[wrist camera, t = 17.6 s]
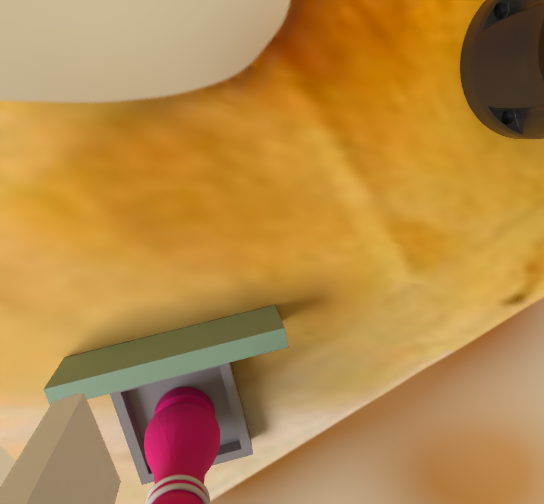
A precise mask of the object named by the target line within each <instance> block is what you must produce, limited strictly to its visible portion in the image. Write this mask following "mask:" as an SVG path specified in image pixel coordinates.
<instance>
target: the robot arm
mask: <svg viewBox="0 0 544 504" xmlns="http://www.w3.org/2000/svg"><path fill="white" fill-rule="evenodd" d="M460 73H461V82H462V87H463V91H464V94H465V97H466V99H467V102H468V104H469V106H470V108H471V109H472V111H473V112H474V114H475V115H476V117H477V118H478V119H479V120H480V121H481V122H482V123H483V124H484V125H485V126H487V127H488V128H489V129H491V130H492V131H494V132H496V133H498V134H500V135H503V136H506V137H510V138H516V139H542V138H544V0H486V1H485V2H484V3H483V4H482V6H481V7H480V8H479V10H478V11H477V13H476V14H475V16H474V18H473V19H472V21H471V23H470V25H469V28H468V30H467V33H466V36H465V39H464V42H463V47H462V52H461V61H460ZM120 482H121V481H120V478H119V476H118V474H117V471H116V469H115V466H114V464H113V462H112V459H111V457H110V454H109V452H108V450H107V447H106V445H105V442H104V440H103V438H102V435H101V433H100V430H99V428H98V426H97V423H96V421H95V418H94V416H93V414H92V411H91V409H90V406H89V404H88V402H87V399H86V397H85V394H84V392H83V393H80V394H76V395H73V396H69V397H66V398H63V399H59V400H56V401H53V402H52V404H51V406H50V407H49V409H48V410H47V412H46V414H45V415H44V417H43V419H42V420H41V422H40V423H39V425H38V427H37V428H36V430H35V432H34V433H33V435H32V437H31V438H30V440H29V441H28V443H27V445H26V446H25V448H24V450H23V451H22V453H21V454H20V456H19V458H18V459H17V461H16V463H15V464H14V466H13V467H12V469H11V471H10V472H9V474H8V476H7V477H6V479H5V480H4V482H3V484H2V486H1V487H0V504H115V500H116V496H117V493H118V489H119V485H120Z"/></svg>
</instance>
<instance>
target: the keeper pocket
mask: <svg viewBox="0 0 544 504" xmlns="http://www.w3.org/2000/svg"><path fill="white" fill-rule="evenodd" d="M180 387H192V388H195V389H198V390H201V391H202V392H204V393H205V394H206V395H208V397H209V398H210V399H211V401H212V403H213V405H214V409H215V418H216V420H217V422H218V424H219V428H220V447H219V451H218V454H217V456H216V459H215V461H214V463H213V464H212V465H216V464H219V463H223V462H227V461H230V460H234V459H237V458H241V457H245V456H248V455H252V454H253V451H252V443H251V438H250V434H249V430H248V426H247V422H246V419H245V415H244V411H243V407H242V404H241V400H240V396H239V392H238V388H237V385H236V381H235V377H234V373H233V369H232V366H231V362H230V363H226V364H222V365H218V366H214V367H210V368H206V369H202V370H199V371H195V372H191V373H187V374H183V375H179V376H175V377H172V378H168V379H164V380H160V381H156V382H152V383H148V384H145V385H141V386H137V387H133V388H129V389H125V390H121V391H117V392H114V393H110V395H111V398H112V401H113V404H114V407H115V409H116V412H117V415H118V418H119V421H120V424H121V426H122V429H123V432H124V435H125V438H126V441H127V443H128V446H129V449H130V452H131V455H132V458H133V461H134V463H135V466H136V469H137V472H138V475H139V478H140V480H141V483H142V485H143V484H147V483H150V482H154V481H155V480H154V475H153V473H152V471H151V469H150V467H149V465H148V463H147V460H146V456H145V450H144V439H145V432H146V429H147V426H148V424H149V422H150V420H151V419H152V418H153V417H154V412H155V407H156V405H157V403H158V401H159V400H160V399H161V397H162V396H163V395H165V394H166V393H168V392H169V391H171V390H173V389H176V388H180Z"/></svg>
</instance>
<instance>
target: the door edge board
mask: <svg viewBox="0 0 544 504" xmlns="http://www.w3.org/2000/svg"><path fill="white" fill-rule="evenodd" d="M288 347H289V346H288V342H287V338H286V333H285V329H284V326H283V323H282V321H281V318H280V316H279V313H278V311H277V308H276V305H272V306H268V307H265V308H261V309H257V310H253V311H249V312H245V313H241V314H237V315H233V316H229V317H225V318H221V319H217V320H213V321H209V322H205V323H201V324H197V325H193V326H189V327H185V328H181V329H177V330H173V331H169V332H165V333H161V334H157V335H153V336H149V337H145V338H141V339H137V340H133V341H129V342H125V343H121V344H117V345H113V346H109V347H105V348H101V349H97V350H93V351H89V352H85V353H81V354H77V355H73V356H69V357H65V358H64V359H63V360H62V362H61V363H60V365H59V367H58V368H57V370H56V371H55V373H54V374H53V376H52V377H51V379H50V380H49V382H48V383H47V385H46V386H45V388H44V392H45V394H46V397H47V399H48V402H49V404H50V406H51V404H52V402H53V401H56V400H59V399H63V398H66V397H69V396H73V395H76V394H80V393H83V392H84V394H85V397H86V399H90V398H94V397H98V396H102V395H106V394H110V393H114V392H117V391H121V390H125V389H129V388H133V387H137V386H141V385H145V384H148V383H152V382H156V381H160V380H164V379H168V378H172V377H175V376H179V375H183V374H187V373H191V372H195V371H199V370H202V369H206V368H210V367H214V366H218V365H222V364H226V363H230V362H233V361H237V360H241V359H245V358H249V357H253V356H257V355H260V354H264V353H268V352H272V351H276V350H280V349H284V348H288Z"/></svg>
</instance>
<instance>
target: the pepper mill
mask: <svg viewBox="0 0 544 504" xmlns="http://www.w3.org/2000/svg"><path fill="white" fill-rule="evenodd" d="M219 447H220V428H219V424H218V422H217V420H216V418H215V409H214V405H213V403H212V401H211V399H210V398H209V397H208V395H206V394H205V393H204V392H202V391H201V390H198V389H195V388H192V387H180V388H176V389H173V390H171V391H169V392H168V393H166V394H165V395H163V396H162V397H161V399H160V400H159V401H158V403H157V405H156V407H155V412H154V417H153V418H152V419H151V420H150V422H149V424H148V426H147V429H146V432H145V439H144V450H145V456H146V460H147V463H148V465H149V467H150V469H151V471H152V473H153V475H154V480H155V485H154V486H153V487H152V488H151V489H150V491H149V493H148V495H147V498H146V504H209V503H210V497H209V493H208V490H207V488H206V487H205V485H204V477H205V474H206V473H207V471H208V470H209V468H210V467H211V466H212V464H213V463H214V461H215V459H216V456H217V454H218V451H219Z"/></svg>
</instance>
